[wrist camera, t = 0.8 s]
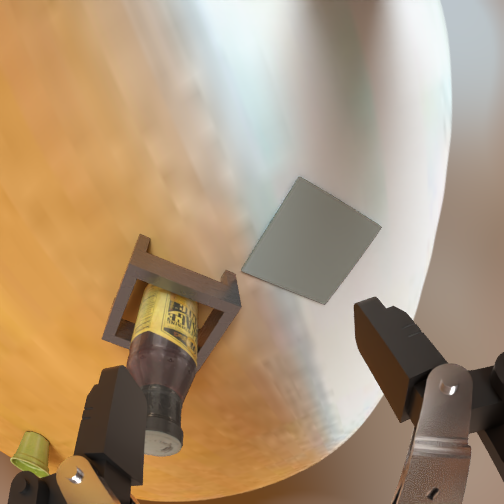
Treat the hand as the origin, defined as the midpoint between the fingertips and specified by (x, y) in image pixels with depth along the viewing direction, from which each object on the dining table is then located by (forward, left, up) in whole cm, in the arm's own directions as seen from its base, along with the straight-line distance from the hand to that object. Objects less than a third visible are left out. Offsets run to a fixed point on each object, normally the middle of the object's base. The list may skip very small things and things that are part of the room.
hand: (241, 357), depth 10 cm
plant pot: (+67, -12, -24) cm, 73 cm away
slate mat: (+2, +14, -23) cm, 27 cm away
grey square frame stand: (+14, +2, -23) cm, 28 cm away
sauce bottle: (+14, +2, -24) cm, 28 cm away
